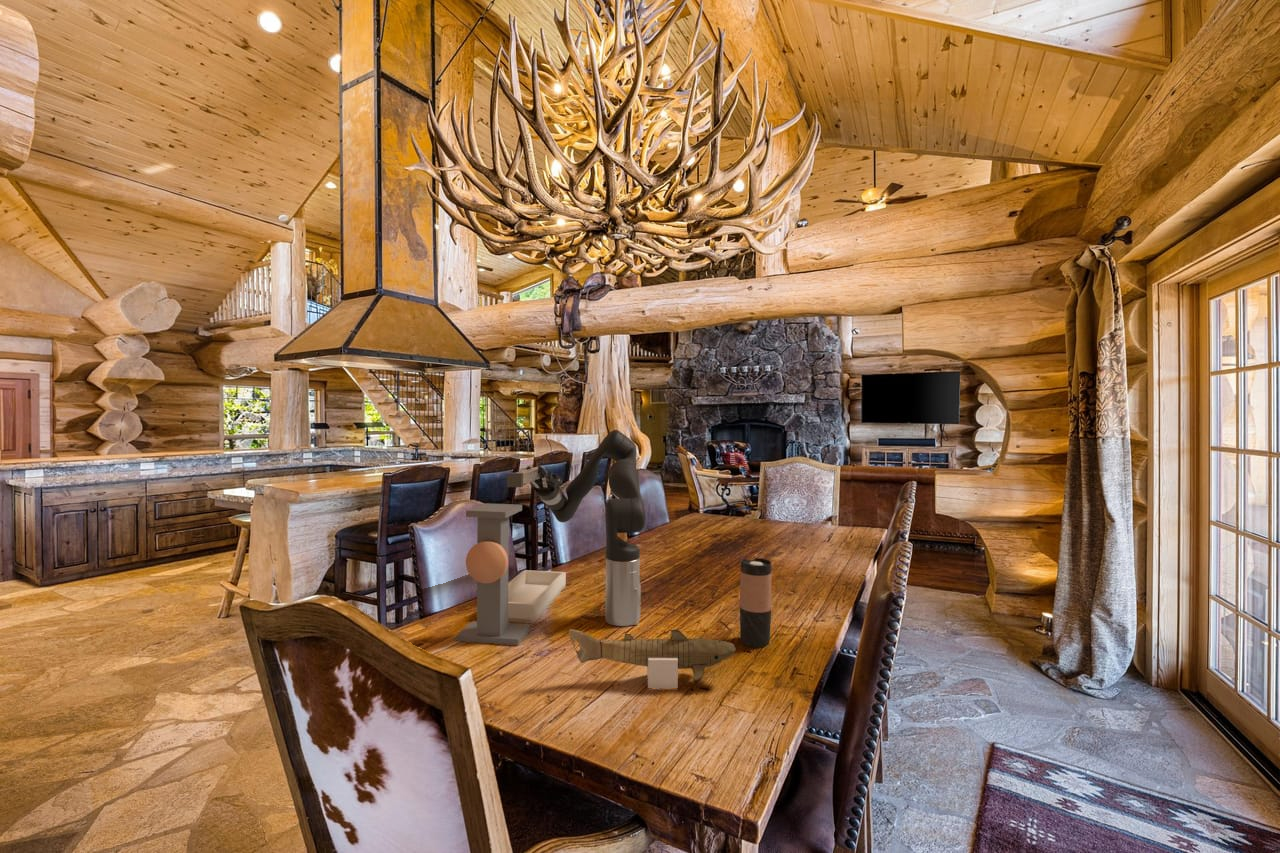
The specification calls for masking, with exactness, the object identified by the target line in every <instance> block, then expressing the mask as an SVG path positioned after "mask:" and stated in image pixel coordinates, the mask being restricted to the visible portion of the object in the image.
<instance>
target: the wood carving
mask: <svg viewBox="0 0 1280 853" xmlns="http://www.w3.org/2000/svg"><path fill="white" fill-rule="evenodd" d="M670 633H671V634H670V635H671V636H670V638H668V639H667V638H634V636H633V635H631V634H630V633H625V634H624V637H623V638H621V639H612V640H610V639H607V640H606V641H605V638H602V639H600V640H598V639H597V638H595V637H593V636H591V635H589V634H587V633H585V632H583V631H580V630H576V629H569V630H568V637H569V640H570V642H571V644H572V646H573V648H574V651H575V653H576V655H577V658H578V661H579V662H580V663H582V664H583V663H586V662H589V661H596V660H597V661H598V660H601V659H607V660H609V661H610V660H611V661H613V662H619V663H622V664H628V665H629V664H630V665H635V666H640V667H641V666H642V667H647V668H646V672H647V673H646V678H647V679H648V680H647V689H648V688H656V689H655V690H661V689H660V688H666V689H665V690H672V689H671V688H678V680H679V679H678V677H679V675H678V674H679V671H678V669H679V670H681V669H685V670H686V669H690V670H692V675H693V683H697V682H699V681H701V679H702V678H703V676H704V673H705V669H706V668H709V667H713V666H716V665H718V664H720V663H721V662H723V661H724V660H727V659H728V658H730V657H731V656H733V655H734V654H735V652H736V646H735V644H734V643H732V642H728V641H724V640H718V639H717V640H716V639H712V638H693V637H692V638H690V637H689V638H688V637H687V636H686V635H685V634H684V633H683V632H682V631H680V630H679V629H670ZM575 641H576V642H577V643H578V645H579V650H577V648H576V646H575Z"/></svg>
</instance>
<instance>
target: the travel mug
mask: <svg viewBox="0 0 1280 853" xmlns="http://www.w3.org/2000/svg"><path fill="white" fill-rule="evenodd" d="M739 578H740V580H739V582H740V584H739V585H740V586H739V589H740V591H739V624H740V625H739V627H740V628H739V632H740V633H739V636H740V637H739V640H740V642H741V644H743V645H745V646H747V647H750V648H756V647H760V648H765V646H766V647H768V646H769V645H770V642H771V640H770V639H771V625H772V624H771V620H772V562H771V561H770V560H768V559H766V558H761V557H756V558H754V559H748V558H746V557H745V558H742V559H741V560H740V577H739ZM767 645H768V646H767Z"/></svg>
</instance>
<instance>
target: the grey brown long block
mask: <svg viewBox="0 0 1280 853" xmlns="http://www.w3.org/2000/svg"><path fill="white" fill-rule="evenodd" d="M538 467H539V466H535V467H531V469H527V470H526V469H524V470H520V471H517V472H507V473H506V487H507V488H524V485H523V484H526V483H527V484H529V483H528V482H531V481H534V480H537V479H540V478H542V477H540V475H539V474H538ZM541 467H542V468H543V469H544V470H545V471H546V466H541ZM527 484H526V485H527Z"/></svg>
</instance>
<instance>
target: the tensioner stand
mask: <svg viewBox="0 0 1280 853" xmlns="http://www.w3.org/2000/svg"><path fill="white" fill-rule="evenodd" d="M522 511H523V504H516V503H515V504H512V503H511V504H510V503H509V504H508V503H490V502H487V503H486V502H485V503H484V504H480V505H477V506H474V507H472V508H469V509H466V511H465V517H466V518H477V525H476V526H477V528H476V529H477V530H476V531H477V535H476V537H477V540H476V541H477V543H476V544H475V545H473V546H472V547H470V549H469V550H468V552H467V554H466V557H465V567H466V570H467V572H468V573H469V575H470V577H471V578H472V579H473V580H475V581H476V621H475V620H472V621H471V622H470V623H468V624H467V625H466V626H465V627H463V628H462V630H460V631H459V632H458V633H457V634H455V641H456V640H457V641H456V642H461V641H470V642H469V643H474V642H481V643H480V644H488V643H496V644H495V645H501V644H506V645H505V646H514V645H516V646H515V647H518V646H519V645H520V644H521V643H522V642H523V641H524V640H525V639H526V637H527V636H528V635H529V634H530V633H531V632H532V624H521V623H519V624H518V623H509V621H508V583H509V561H510V560H509V557H510V556H509V548H510V545H509V542H510V540H509V539H510V538H509V535H510V534H509V533H510V532H509V530H510V529H509V528H510V526H509V525H510V521H509V520H510V518H509V517H511V516H513V515H515V514H518V513H519V512H522ZM529 632H530V633H529ZM528 633H529V634H528ZM523 639H524V640H523ZM522 640H523V641H522ZM521 641H522V642H521Z"/></svg>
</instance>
